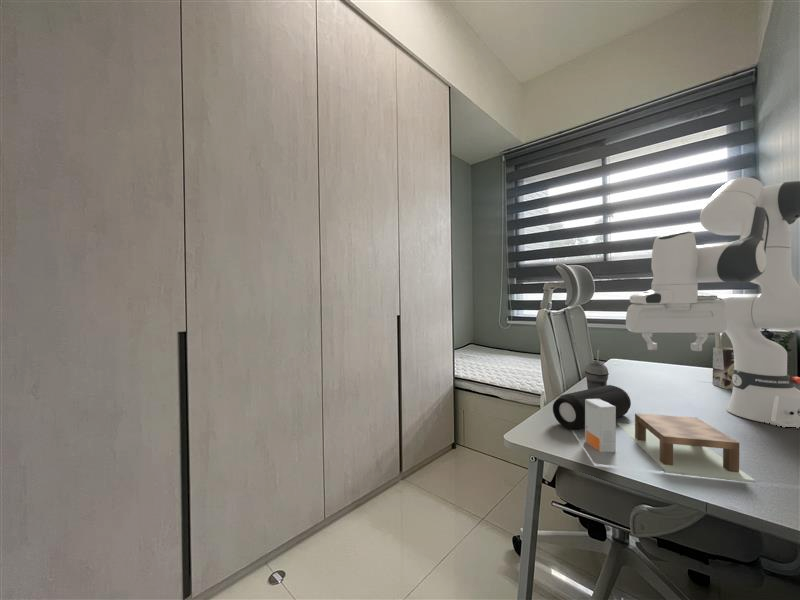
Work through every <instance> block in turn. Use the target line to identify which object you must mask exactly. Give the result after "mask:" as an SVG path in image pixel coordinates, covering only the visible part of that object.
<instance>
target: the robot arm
mask: <svg viewBox="0 0 800 600" xmlns="http://www.w3.org/2000/svg"><path fill="white" fill-rule="evenodd" d="M799 218H800V180H797V181H795V180H794V181H785V182H782V183H778V184H771V185H765V186H764V185H763V183H762V182H761V181H760V180H758V179H757V178H754V177H743V176H742V177H737V178H734V179H731V180H729V181H727V182H726V183H725V184H723V185H722V186H721V187H720V188H718V189H717V190H716V191H715V192H714V193H713V194H712V195H711V196H710V198H708V200H707V201H706V203H704V206H703V207H702V209H701V211H700V215H699V221H700V224H701V225H702V227H703V228H704V229H705V230H707V232H709V233H712V234H715V235H718V236H739V239H736V240H733V241H729V242H727V241H726V242H721V243H720V242H719V243H713V244H704V245H702V244H701V245H698V244H697V242H696V240H697V239H696V237H695V233H694V232H693V231H689V230H685V231H678V232H671V233H665V234H661V235H658V236H657V237H656V238H655V239H654V242H653V245H652V251H651V272H652V274H653V275H652V276H653V279H652V281H651V289H649V290H645V291H642V292H639V293H635V294H631V295H630V296H629V302H630V303H631V304H630V305H628V307H627V309H626V316H625V328H626V329H627V330H628V331H629V332H631V333H635V334H636V333H641V336H642V338H643V339H644V340H645V342H646V346H647V347H646V349H647V350H649V351H657V350H658V343H657V342H654V341H653V340H652V337H653V334H654V333H655V334H657V333H658V334H659V333H661V334H663V333H664V334H665V333H667V334H668V333H669V334H675V333H676V334H677V333H679V334H695V337H696V339H695V341H694V342H690V350H691V351H693V352H702V351H703V345H704V343H705V342H706V341H707V340H708V338H709V334H723V333H725V334H726V335H727V337H728V338H729V340H730V342H731V345H732V348H733V352H734V368H733V369H732V383H733V389H732V392H731V395H730V396H731V397H730V399H729V403H728V405H727V408H726V410H727V412H729V413H730V414H732V415H734V416H738V417H740V418H743V419H747V420H750V421H756V422H760V423H764V422H765V424H769V423H770V424H769V425H773V426H776V425H777V426H776V427H780V426H782V427H781V428H785V427H796V428H795V429H800V428H799V427H800V390H799V389H798V388H796V387H795V384H798V385H800V377H799V376H792V375H789V374H788V351H787V350H786V349H785V347H783V345H781V344H779V343H778V342H775V341H773V340H770V339H768V338H767V337H765V336H764V335H763V334H762V332H761V329H764V330H780V331H781V330H782V331H800V285H799V284H798V282H797V281H796V278H795V277H794V274H793V271H792V244H793V243H792V233H791V227H790V225H792V224H794V223H795V222H796V220H797V219H799ZM699 283H701V284H702V283H732V284H733V283H734V284H735V283H740V284H741V283H742V284H748V283H751V284H756V285H758V286H759V287H760V289H761V293H730V294H721V295H713V294H712V295H699V294H698V293H699V292H698V290H699V286H698V285H699Z"/></svg>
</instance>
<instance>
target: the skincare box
mask: <svg viewBox="0 0 800 600" xmlns="http://www.w3.org/2000/svg"><path fill="white" fill-rule="evenodd" d="M616 420H617V417H616V407H615V406H613V405H611V404H609V403H608V402H605V401H603V400H601V399H585V427H584V442H585V443H587V445H590V446H591V447H592V448H594V449H596V450H597V451H598V452H599V453H615V452H616V451H617V450H616V449H617V448H616V447H617V443H616V442H617V437H616V434H617V432H616V431H617V426H616V425H617V423H616V422H617V421H616Z"/></svg>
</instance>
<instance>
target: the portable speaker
mask: <svg viewBox="0 0 800 600" xmlns="http://www.w3.org/2000/svg"><path fill="white" fill-rule="evenodd" d="M585 399H601V400H603V401H605V402H608V403H609V404H611V405H613V406H615V407H616V418H620V417H623V416H625V415H627V413H628V412H629V410H630V408H631V404H632V402H631V398H630V396H629V394H628V392H626V391H625V390H624V389H622V388H621V387H619V386H615V385H612V384H607V385H606V386H601V387H596V388H592V389H588V388H587V389H584V390H583V389H582V390H579V391H574V392H571V393H570V392H569V393H566V394H562V395H560V396H558V398H557V399H555V401H554V402H553V403H552V413H553V416H554V418H555V419H556V421H557V422H558V424H560V425H562V426H563V427H565V428H568V429H569V428H570V429H572V430H579V429H582V428H585Z"/></svg>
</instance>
